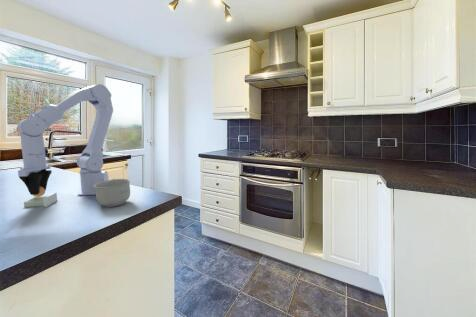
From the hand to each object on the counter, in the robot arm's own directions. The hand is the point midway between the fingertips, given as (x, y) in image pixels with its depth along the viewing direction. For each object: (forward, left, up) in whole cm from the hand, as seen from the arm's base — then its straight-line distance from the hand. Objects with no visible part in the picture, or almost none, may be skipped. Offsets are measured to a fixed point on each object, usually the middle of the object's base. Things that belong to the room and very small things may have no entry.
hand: (38, 192), depth 76 cm
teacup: (-25, +5, -4) cm, 26 cm away
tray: (0, 0, -4) cm, 4 cm away
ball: (0, 0, 0) cm, 0 cm away
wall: (-4, +1, -4) cm, 6 cm away
